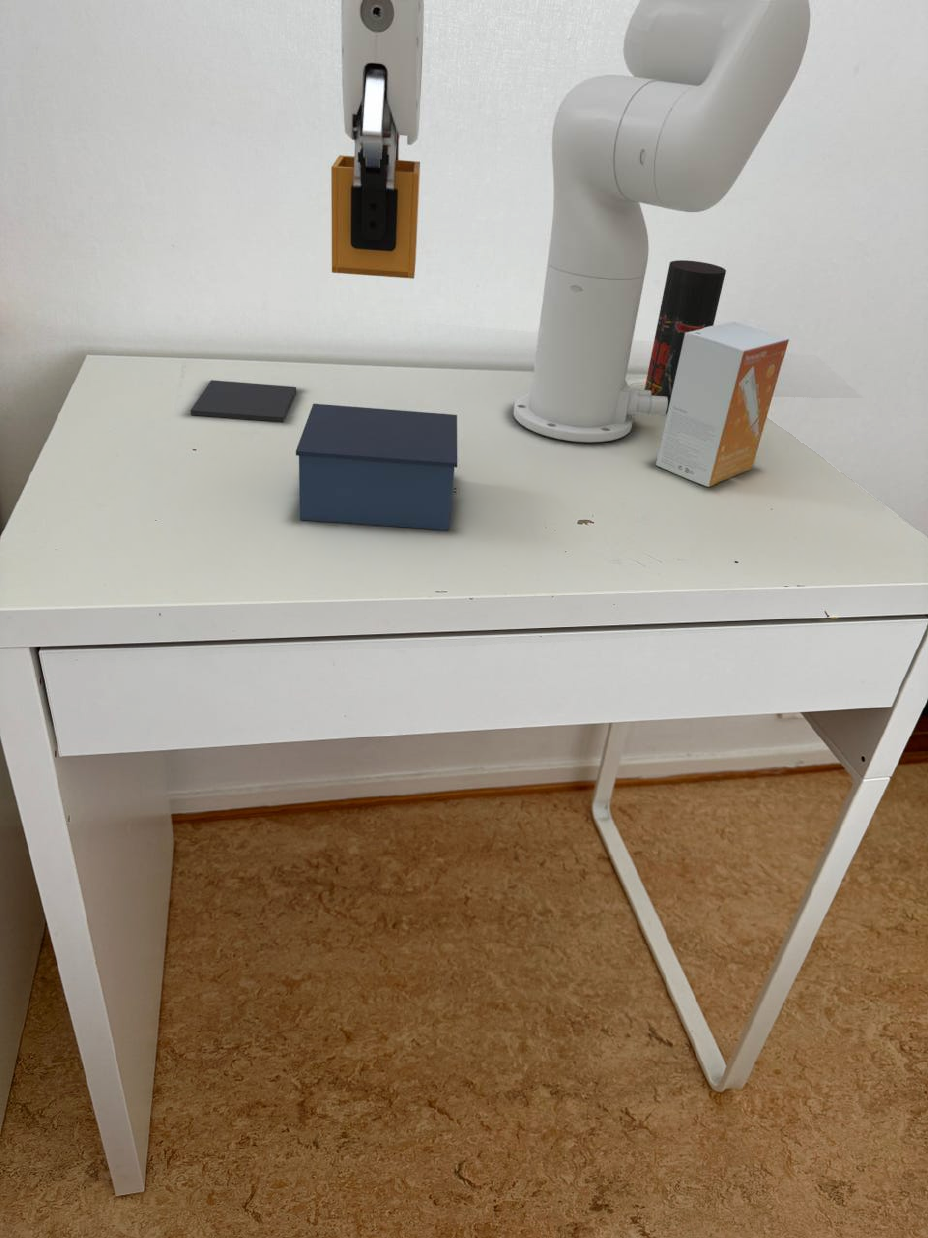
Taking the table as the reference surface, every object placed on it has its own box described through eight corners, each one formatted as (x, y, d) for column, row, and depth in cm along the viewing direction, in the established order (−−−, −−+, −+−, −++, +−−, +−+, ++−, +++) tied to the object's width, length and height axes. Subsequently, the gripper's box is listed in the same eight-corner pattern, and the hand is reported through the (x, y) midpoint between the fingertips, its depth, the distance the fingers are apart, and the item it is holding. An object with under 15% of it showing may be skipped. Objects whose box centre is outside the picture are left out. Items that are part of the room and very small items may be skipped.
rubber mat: (296, 391, 97) (296, 386, 97) (283, 422, 90) (283, 417, 90) (211, 384, 97) (210, 379, 97) (190, 414, 89) (190, 410, 89)
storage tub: (451, 478, 82) (457, 414, 79) (451, 532, 73) (457, 462, 70) (313, 467, 82) (313, 403, 78) (296, 520, 73) (295, 450, 70)
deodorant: (655, 391, 108) (683, 257, 100) (702, 404, 105) (734, 268, 97) (633, 402, 103) (660, 264, 95) (681, 417, 101) (713, 276, 93)
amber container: (415, 260, 72) (420, 161, 68) (414, 278, 67) (418, 173, 63) (339, 254, 71) (339, 154, 67) (331, 272, 66) (331, 166, 62)
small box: (708, 489, 85) (744, 350, 78) (653, 465, 89) (682, 330, 81) (754, 469, 90) (791, 337, 83) (700, 448, 94) (731, 319, 86)
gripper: (442, -66, 51) (424, 270, 61) (441, -49, 65) (427, 220, 75) (306, -79, 51) (311, 261, 60) (335, -59, 65) (336, 213, 75)
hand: (376, 236), depth 68 cm, fingers closed on amber container, 6 cm apart
